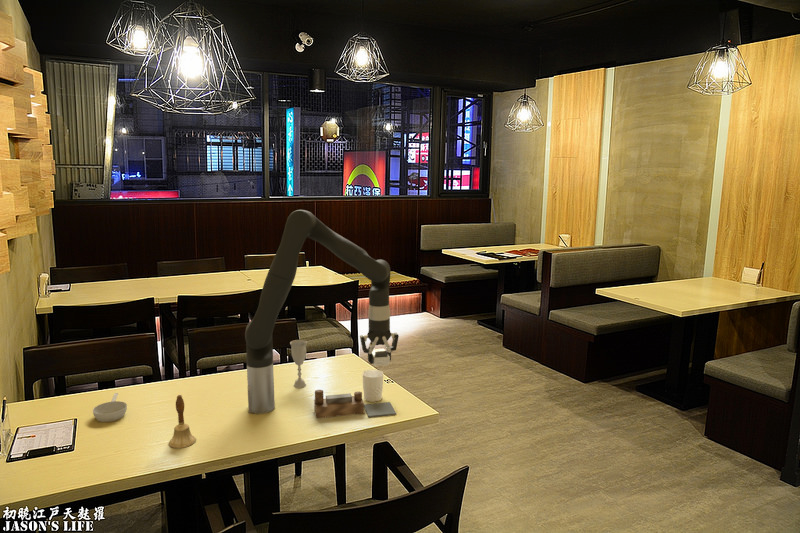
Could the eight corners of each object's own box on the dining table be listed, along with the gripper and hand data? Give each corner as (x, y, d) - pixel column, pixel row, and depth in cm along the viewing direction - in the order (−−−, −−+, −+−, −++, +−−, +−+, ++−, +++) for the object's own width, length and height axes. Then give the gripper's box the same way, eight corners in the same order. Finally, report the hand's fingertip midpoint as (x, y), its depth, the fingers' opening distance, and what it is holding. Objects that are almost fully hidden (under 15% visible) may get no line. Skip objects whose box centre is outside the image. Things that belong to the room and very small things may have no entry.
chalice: (290, 383, 236) (288, 340, 232) (307, 381, 238) (305, 339, 234) (292, 389, 229) (291, 346, 226) (309, 387, 231) (308, 344, 228)
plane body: (316, 418, 204) (315, 395, 202) (314, 410, 211) (313, 387, 209) (364, 413, 208) (363, 391, 206) (360, 405, 215) (360, 383, 213)
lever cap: (369, 357, 211) (369, 346, 210) (384, 356, 212) (384, 345, 212) (374, 366, 202) (374, 354, 202) (389, 364, 204) (389, 353, 203)
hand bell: (200, 442, 187) (197, 395, 184) (175, 451, 181) (171, 403, 178) (189, 433, 193) (186, 388, 190) (164, 441, 187) (160, 395, 184)
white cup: (382, 402, 217) (382, 377, 216) (361, 402, 218) (361, 377, 216) (383, 394, 225) (383, 369, 223) (363, 393, 225) (363, 369, 224)
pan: (90, 425, 198) (89, 414, 198) (101, 404, 215) (100, 394, 215) (124, 421, 201) (123, 411, 201) (132, 400, 218) (132, 391, 218)
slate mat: (368, 417, 205) (368, 415, 205) (363, 405, 214) (363, 404, 214) (396, 414, 207) (396, 413, 207) (390, 403, 217) (390, 401, 217)
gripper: (396, 312, 210) (396, 357, 213) (357, 315, 206) (357, 360, 209) (401, 318, 202) (401, 364, 206) (360, 320, 199) (361, 367, 202)
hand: (379, 362), depth 207 cm, fingers closed on lever cap, 5 cm apart
